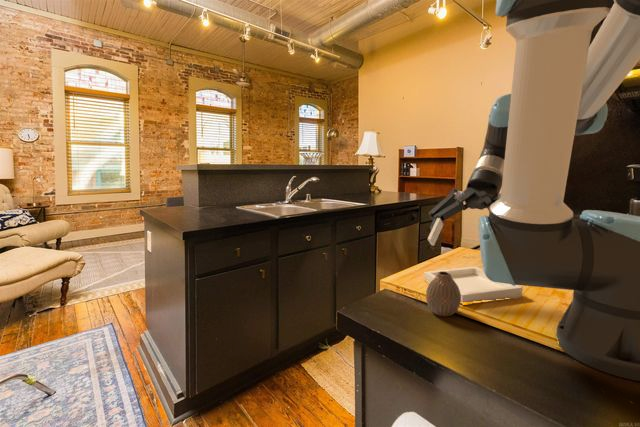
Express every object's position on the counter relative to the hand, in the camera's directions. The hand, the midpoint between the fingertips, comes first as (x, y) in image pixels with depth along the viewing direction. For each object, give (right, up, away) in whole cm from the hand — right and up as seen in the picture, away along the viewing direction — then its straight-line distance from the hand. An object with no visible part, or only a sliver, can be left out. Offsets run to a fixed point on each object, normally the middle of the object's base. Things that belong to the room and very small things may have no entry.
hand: (458, 247), depth 74 cm
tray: (+6, -11, +8) cm, 15 cm away
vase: (-5, -14, -5) cm, 15 cm away
